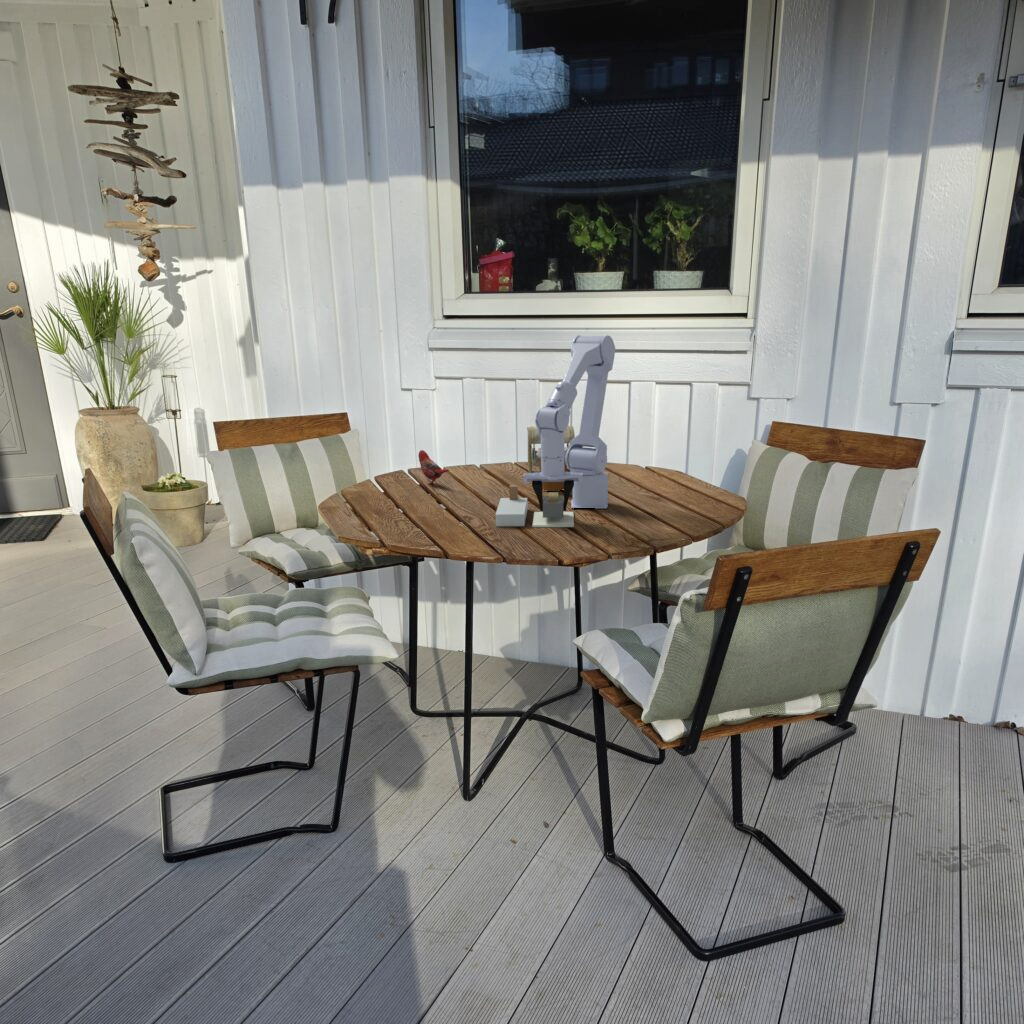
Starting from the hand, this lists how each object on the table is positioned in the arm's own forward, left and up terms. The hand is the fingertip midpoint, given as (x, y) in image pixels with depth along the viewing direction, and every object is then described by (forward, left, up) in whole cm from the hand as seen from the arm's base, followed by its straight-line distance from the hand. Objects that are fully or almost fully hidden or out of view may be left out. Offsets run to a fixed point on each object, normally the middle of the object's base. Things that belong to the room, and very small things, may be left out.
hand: (553, 510), depth 186 cm
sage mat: (0, 0, -3) cm, 3 cm away
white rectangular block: (+10, -3, -3) cm, 11 cm away
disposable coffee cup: (0, -32, -3) cm, 32 cm away
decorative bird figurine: (+36, -39, -3) cm, 53 cm away
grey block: (0, 0, -1) cm, 1 cm away
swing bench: (+1, -55, -3) cm, 55 cm away
